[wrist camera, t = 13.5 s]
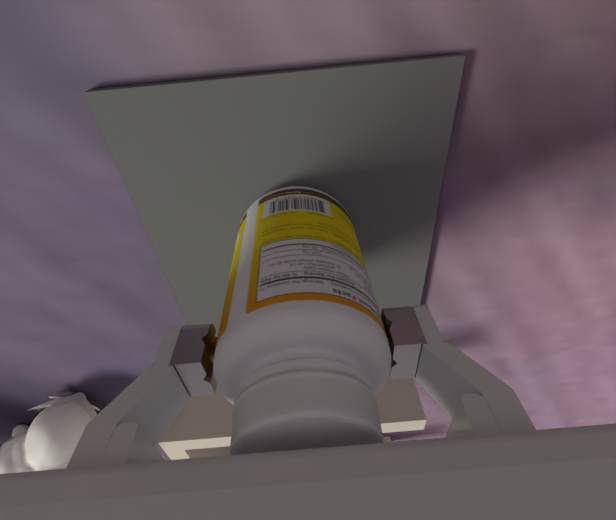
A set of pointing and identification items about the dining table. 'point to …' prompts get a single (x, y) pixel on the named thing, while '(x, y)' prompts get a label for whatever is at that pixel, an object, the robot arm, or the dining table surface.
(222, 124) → the mat
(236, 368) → the supplement bottle
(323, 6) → the dining table surface
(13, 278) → the dining table surface
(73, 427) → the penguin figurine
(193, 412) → the beige u-shaped bracket
